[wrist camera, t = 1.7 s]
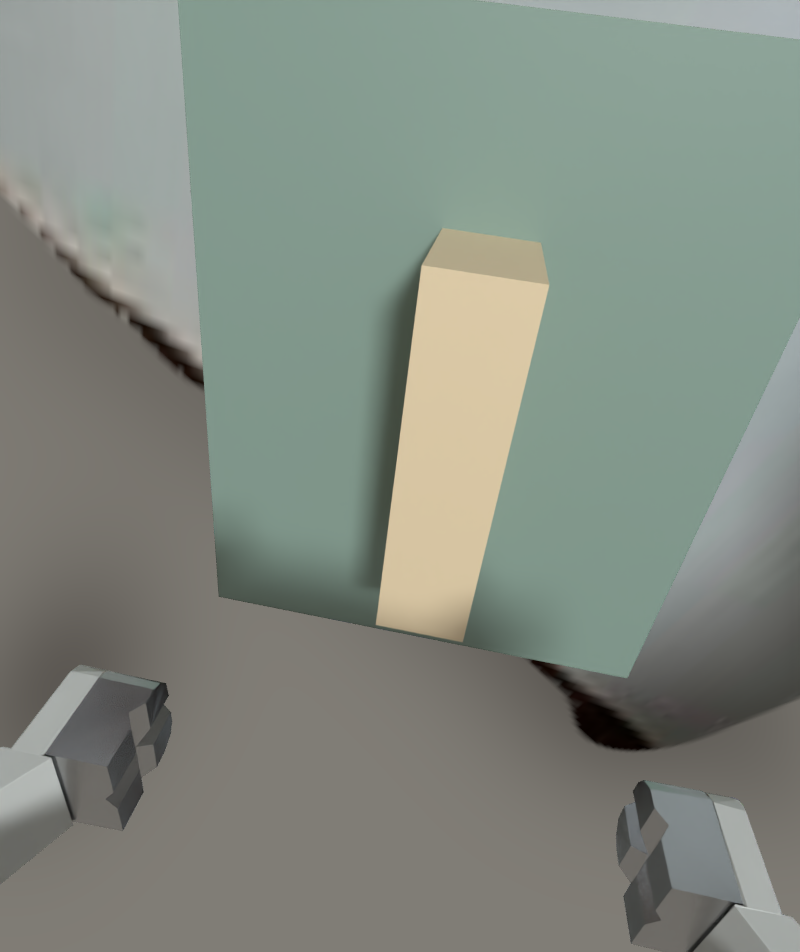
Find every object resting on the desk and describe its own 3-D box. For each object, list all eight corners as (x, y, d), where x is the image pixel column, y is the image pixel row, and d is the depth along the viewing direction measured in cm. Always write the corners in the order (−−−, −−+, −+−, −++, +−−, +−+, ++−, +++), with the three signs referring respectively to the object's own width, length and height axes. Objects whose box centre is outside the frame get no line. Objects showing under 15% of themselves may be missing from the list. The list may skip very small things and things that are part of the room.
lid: (892, 58, 16) (1090, 35, 10) (621, 652, 28) (648, 784, 23) (199, -26, 17) (55, -85, 12) (231, 575, 30) (167, 682, 24)
